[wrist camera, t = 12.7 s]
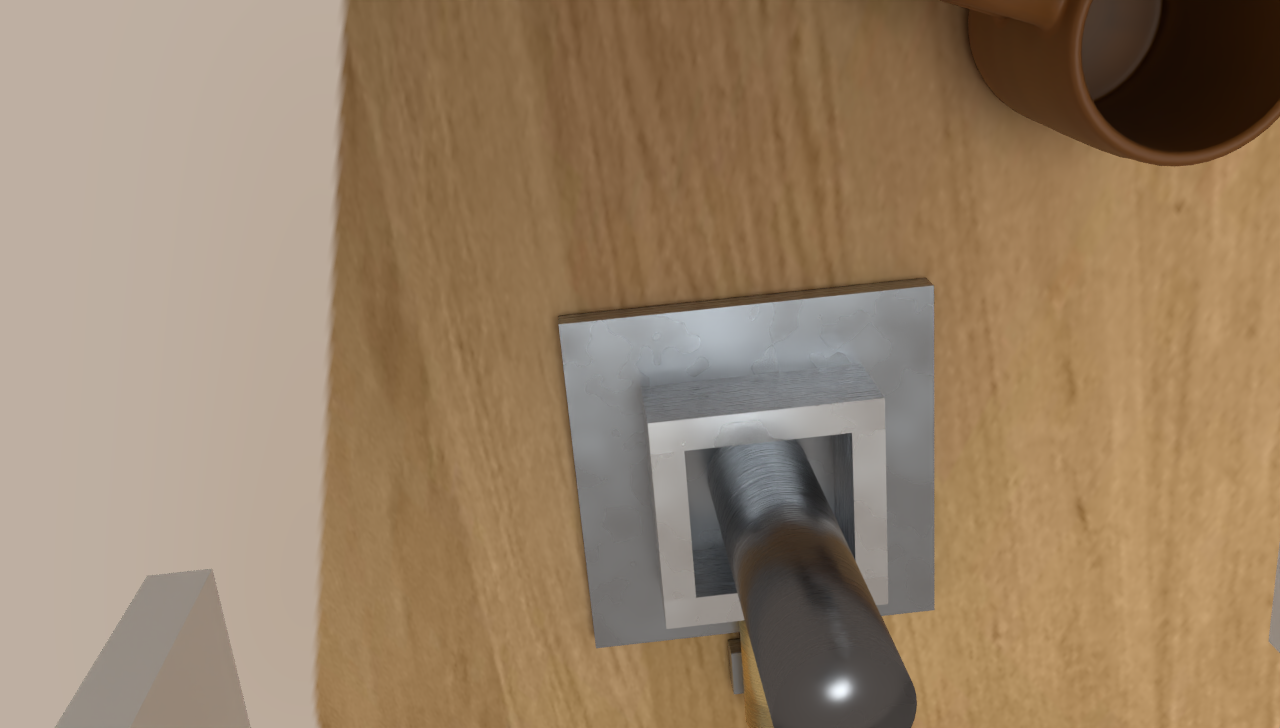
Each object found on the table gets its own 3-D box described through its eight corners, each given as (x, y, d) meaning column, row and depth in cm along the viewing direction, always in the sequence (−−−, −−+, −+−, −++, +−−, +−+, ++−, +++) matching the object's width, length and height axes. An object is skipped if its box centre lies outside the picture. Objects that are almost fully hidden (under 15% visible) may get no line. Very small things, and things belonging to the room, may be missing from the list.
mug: (815, 59, 43) (883, 97, 34) (884, -166, 41) (977, -188, 32) (1121, 143, 45) (1261, 199, 36) (1205, -68, 42) (1377, -63, 34)
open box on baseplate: (558, 316, 46) (558, 356, 41) (926, 278, 46) (963, 314, 42) (603, 704, 52) (608, 774, 48) (927, 667, 52) (960, 733, 48)
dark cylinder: (690, 499, 48) (747, 743, 33) (736, 412, 46) (815, 628, 32) (780, 535, 48) (872, 788, 34) (827, 451, 47) (943, 677, 33)
